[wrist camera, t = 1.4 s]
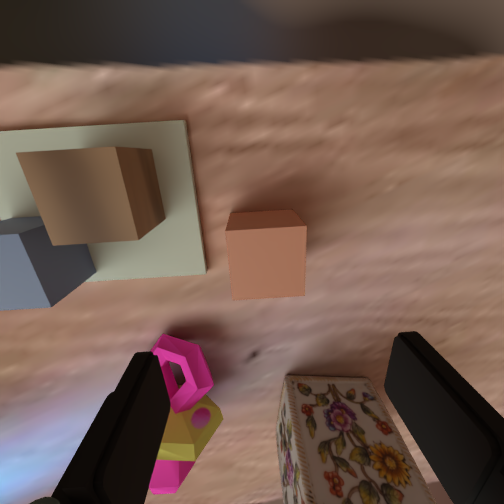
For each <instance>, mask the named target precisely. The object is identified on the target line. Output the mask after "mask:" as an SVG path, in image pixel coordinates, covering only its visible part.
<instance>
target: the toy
mask: <svg viewBox="0 0 504 504" xmlns="http://www.w3.org/2000/svg"><path fill="white" fill-rule="evenodd" d="M151 351H152V352H153V354H154V355H157V356H158V358H159V362H160V366H161V369H162V373H163V376H164V380H165V384H166V387H167V391H168V395H169V398H170V403H171V406H170V413H169V416H168V420H167V424H166V427H165V431H164V434H163V438H162V441H161V445H160V449H159V452H158V456H157V459H156V463H155V466H154V470H153V474H152V477H151V481H150V484H149V489H150V490H151V492H152V493H153V494H167V493H176V491H177V490H178V488H179V487H180V485H181V484H182V482H183V481H184V479H185V478H186V476H187V475H188V473H189V471H190V470H191V468H192V467H193V465H194V463H195V461H196V459H197V458H198V456H199V455H200V453H201V452H202V450H203V449H204V447H205V446H206V444H207V443H208V441H209V440H210V438H211V437H212V435H213V434H214V432H215V431H216V429H217V428H218V426H219V425H220V423H221V422H222V420H223V416H222V413H221V410H220V408H219V407H218V406H217V405H216V404H215V403H214V402H213V401H212V400H211V399H210V398H209V397H208V396H207V395H206V393H207V392H208V391H209V390H210V389H211V388H212V387H213V386H214V383H213V379H212V375H211V372H210V369H209V367H208V364H207V362H206V359H205V357H204V354H203V352H202V349H201V347H200V346H199V345H197V344H194V343H191V342H187V341H184V340H181V339H178V338H175V337H172V336H169V335H165V334H162V335H161V337H160V338H159V340H158V341H157V342H156V344H155V345H154V347H153V348H152V349H151ZM170 361H171V362H174V363H176V364H179V365H180V366H181V368H182V371H183V373H184V376H185V379H186V382H185V383H184V384H183V385H177V383H176V380H175V378H174V375H173V372H172V370H171V367H170V365H169V362H170Z"/></svg>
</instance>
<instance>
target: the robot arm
mask: <svg viewBox="0 0 504 504" xmlns="http://www.w3.org/2000/svg"><path fill="white" fill-rule="evenodd" d="M384 387H385V391H386V394H387V395H388V397H389V399H390V400H391V402H392V404H393V405H394V407H395V409H396V410H397V412H398V414H399V415H400V417H401V418H402V420H403V422H404V423H405V425H406V427H407V428H408V430H409V432H410V433H411V435H412V436H413V438H414V440H415V441H416V443H417V445H418V446H419V448H420V450H421V451H422V453H423V455H424V456H425V458H426V459H427V461H428V463H429V464H430V466H431V468H432V469H433V471H434V473H435V474H436V476H437V478H438V479H439V481H440V482H441V484H442V486H443V487H444V489H445V491H446V492H447V494H448V496H449V497H450V499H451V500H452V502H453V503H454V504H504V418H503V417H502V416H501V415H500V414H499V413H498V412H497V411H496V410H495V409H494V408H493V407H492V406H491V405H490V404H489V403H488V402H487V401H486V400H485V399H484V398H483V397H482V396H481V395H480V394H479V393H478V392H477V391H476V390H475V389H474V388H473V387H472V386H471V385H470V384H469V383H468V382H467V381H466V380H465V379H464V378H463V377H462V376H461V375H460V374H459V373H458V372H457V371H456V370H455V369H454V368H453V367H452V366H451V365H450V364H449V363H448V362H447V361H446V360H445V359H444V358H443V357H442V356H441V355H440V354H439V353H438V352H437V351H436V350H435V349H434V348H433V347H432V346H431V345H430V344H429V343H428V342H427V341H426V340H425V339H424V338H423V337H422V336H421V335H420V334H419V333H418V332H415V331H413V332H401V333H399V334H398V336H397V337H395V338H394V342H393V347H392V351H391V356H390V360H389V365H388V370H387V374H386V379H385V383H384ZM170 406H171V403H170V398H169V395H168V391H167V387H166V384H165V380H164V376H163V373H162V369H161V366H160V362H159V358H158V356H157V355H154V354H153V352H152V351H150V352H137V353H135V354H134V356H133V358H132V359H131V361H130V363H129V365H128V367H127V369H126V370H125V372H124V374H123V376H122V378H121V380H120V382H119V383H118V385H117V387H116V389H115V391H114V392H111V393H110V394H109V395H108V396H107V398H106V399H105V401H104V403H103V404H102V406H101V408H100V410H99V412H98V413H97V415H96V417H95V419H94V421H93V422H92V424H91V426H90V428H89V430H88V431H87V433H86V435H85V437H84V439H83V440H82V442H81V444H80V446H79V447H78V449H77V451H76V453H75V455H74V456H73V458H72V460H71V462H70V464H69V465H68V467H67V469H66V471H65V473H64V474H63V476H62V478H61V480H60V482H59V483H58V485H57V487H56V489H55V490H54V492H53V494H52V496H51V497H43V498H40V499H37V500H35V501H33V502H31V503H30V504H144V502H145V499H146V495H147V491H148V488H149V484H150V481H151V477H152V474H153V470H154V466H155V463H156V459H157V456H158V452H159V449H160V445H161V441H162V438H163V434H164V431H165V427H166V424H167V420H168V416H169V413H170Z"/></svg>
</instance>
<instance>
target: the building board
mask: <svg viewBox="0 0 504 504" xmlns="http://www.w3.org/2000/svg"><path fill="white" fill-rule="evenodd" d="M113 146H116V147H129V148H143V149H152V153H153V158H154V163H155V168H156V173H157V178H158V183H159V188H160V193H161V198H162V203H163V208H164V213H165V218H166V219H165V220H164V221H163V222H161V223H160V224H159V225H158V226H156V227H155V228H154V229H152V230H151V231H150V232H149V233H147V234H146V235H145V236H144V237H142V238H141V239H140V240H136V241H120V242H104V243H88V244H87V246H88V249H89V252H90V255H91V257H92V260H93V263H94V266H95V269H96V273H95V274H94V275H92V276H91V277H90V278H89V279H87V280H86V281H85V282H90V281H106V280H122V279H138V278H154V277H170V276H187V275H203V274H206V273H207V265H206V258H205V251H204V244H203V237H202V230H201V223H200V216H199V209H198V202H197V195H196V188H195V182H194V175H193V168H192V161H191V154H190V147H189V140H188V133H187V126H186V121H185V120H173V121H157V122H141V123H125V124H109V125H93V126H77V127H61V128H45V129H29V130H13V131H0V219H1V221H2V220H6V219H9V218H19V217H35V216H41V215H40V212H39V210H38V207H37V205H36V202H35V200H34V197H33V195H32V192H31V190H30V188H29V185H28V183H27V180H26V178H25V175H24V173H23V170H22V168H21V165H20V163H19V160H18V158H17V155H16V153H17V152H33V151H49V150H65V149H81V148H97V147H113Z"/></svg>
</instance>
